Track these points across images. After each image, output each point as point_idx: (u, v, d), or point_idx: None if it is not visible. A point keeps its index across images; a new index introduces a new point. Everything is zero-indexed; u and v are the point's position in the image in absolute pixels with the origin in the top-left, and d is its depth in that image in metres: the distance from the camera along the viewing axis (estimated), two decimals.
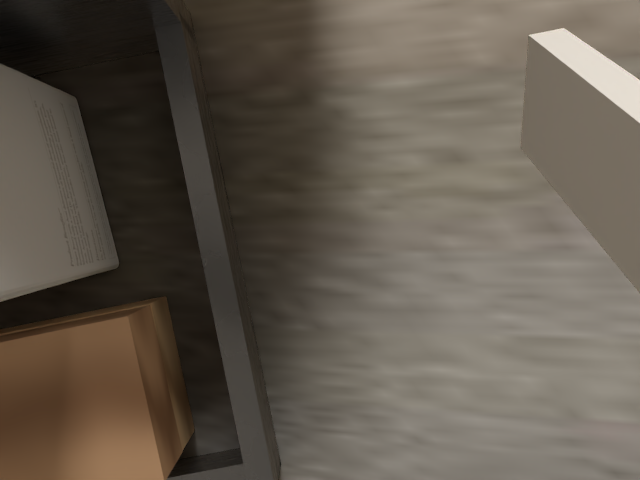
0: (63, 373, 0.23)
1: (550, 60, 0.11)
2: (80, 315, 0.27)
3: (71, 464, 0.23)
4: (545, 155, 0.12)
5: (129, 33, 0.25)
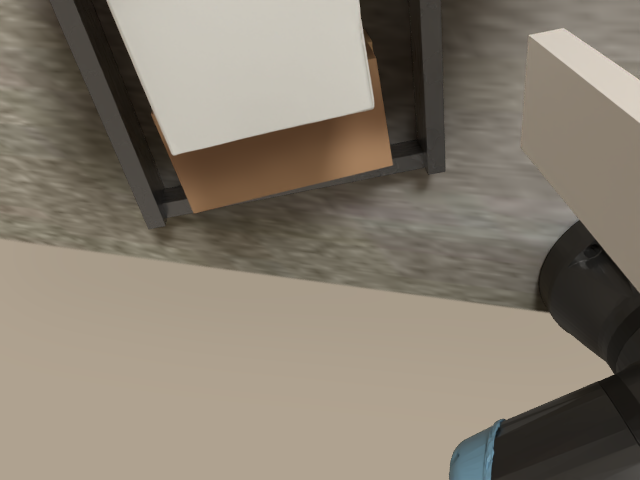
0: None
1: (550, 60, 0.11)
2: None
3: (333, 158, 0.35)
4: (545, 155, 0.12)
5: None
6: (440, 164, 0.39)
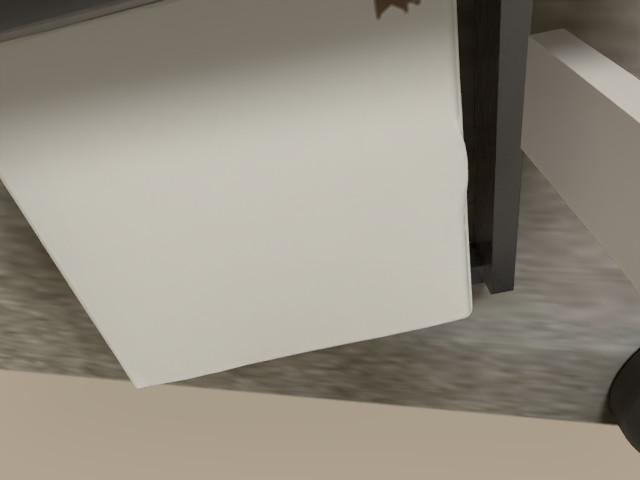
0: None
1: (550, 60, 0.11)
2: None
3: None
4: (545, 155, 0.12)
5: None
6: (507, 282, 0.29)
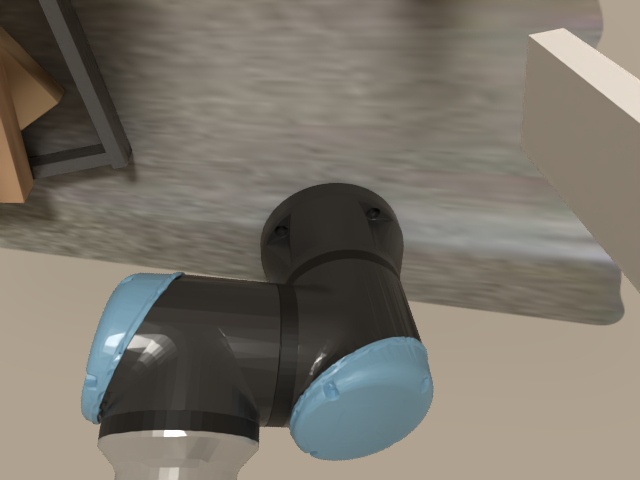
0: None
1: (550, 60, 0.11)
2: None
3: None
4: (545, 155, 0.12)
5: None
6: (120, 161, 0.50)
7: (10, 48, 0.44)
